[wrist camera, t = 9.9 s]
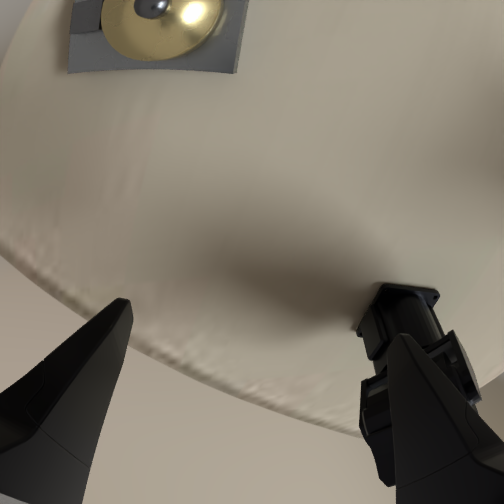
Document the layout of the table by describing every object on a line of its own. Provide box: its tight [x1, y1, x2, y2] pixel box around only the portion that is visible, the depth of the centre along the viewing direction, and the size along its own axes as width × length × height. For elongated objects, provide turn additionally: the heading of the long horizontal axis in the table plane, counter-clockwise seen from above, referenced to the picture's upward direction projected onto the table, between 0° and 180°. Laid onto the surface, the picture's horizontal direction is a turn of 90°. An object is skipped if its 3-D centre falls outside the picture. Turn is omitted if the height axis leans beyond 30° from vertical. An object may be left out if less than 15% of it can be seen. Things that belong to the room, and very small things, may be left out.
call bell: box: [68, 0, 249, 74], centre depth 11 cm, size 10×7×4 cm
